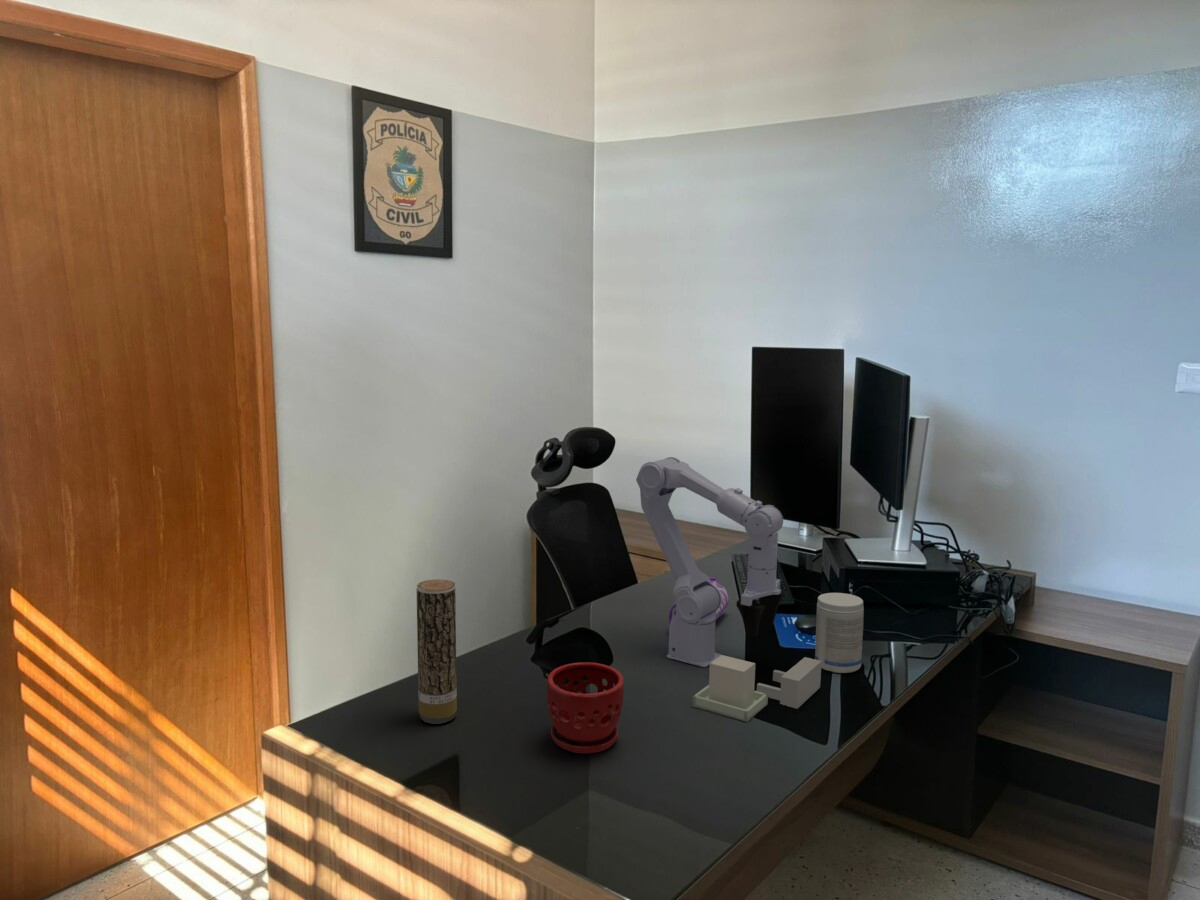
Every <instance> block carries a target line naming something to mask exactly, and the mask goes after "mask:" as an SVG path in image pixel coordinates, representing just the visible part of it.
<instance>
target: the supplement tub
mask: <svg viewBox="0 0 1200 900" xmlns="http://www.w3.org/2000/svg"><path fill="white" fill-rule="evenodd" d="M864 607H865V606H864V600H863V599H862V598H861V597H859V596H857V595H855V594H849V593H845V592H844V593H843V592H827V593H822V594H820V595H818V597H817V603H816V616H815V618H816V619H815V621H816V622H815V624H816V625H815V647H814V648H815V651H814V659H815V660H819V661H822V662H821V670H822V669H823V670H825V671H828V672H831V673H835V674H836V673H838V674H849V673H854V672H856V671H858V670H859V669H860V668H861V667H862V660H863V636H864V619H865V618H864V617H865V615H864V613H865V611H864V610H865V609H864Z"/></svg>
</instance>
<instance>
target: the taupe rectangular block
mask: <svg viewBox="0 0 1200 900" xmlns="http://www.w3.org/2000/svg"><path fill="white" fill-rule="evenodd" d="M708 672H709V677H708V678H709V679H708V685H709V699H710V700H713V701H717V702H720V703H724V704H728V705H731V706H735V707H738V708H742V709H745V710H746V709H747V708H749V707H750V706H751V705H752V704H753V703H754V691H755V682H756V681H755V680H756V663H755V662H751V661H747V660H743V659H740V658H735V657H732V656H727V655H724V654H723V655H721V656H719V657H718V658H717V659H715V660H714V661H712V662H711V663H710V665H709V670H708Z"/></svg>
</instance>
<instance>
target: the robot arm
mask: <svg viewBox="0 0 1200 900" xmlns="http://www.w3.org/2000/svg"><path fill="white" fill-rule="evenodd" d="M635 481H636V483H637V485H638V488H639V491H640V492H639V493H640V494H639V495H640V506H641V509H642V512H643V513H644V516H645V518H646V521H647V522H648V524H649V526H650V528H651V530H652V533H653V535H654V537H655V540H656V542H657V543H658V546H659V548H660V549H661V552H662V554H663V557H664V559H665V561H666V563H667V566H668V567H669V569H670V572H671V574H672V575H673V578H674V580H675V584H674V587H673V590H672V594H673V596H674V599H675V602H676V608H677V612H678V614H676V615H675V616H674V617H673V618H672V620H671V623H670V624H669V628H668V654H666V658H667V659H671V660H675V661H679V662H683V663H686V664H690V665H694V666H697V667H701V668H706V667H708V666H710V663H711V662H712V661H714V660H715V659H717V658H718V657H719V656H721V655H722V653H719V652H715V650H716V649H715V647H716V646H715V645H716V644H715V643H716V620H717V619H716V610H717V609H718V608H719V607H720V605H721V602H722V597H721V593H720V591H719V590H718V589H717V587H715V586H714V585H713V584H712V582H711V581H710V579H709V577H710V576H708V575H707V574H705V573H703V572H702V571H700V570H699V567H698V566H697V564H696V561H695V559H694V557H693V555H692V553H691V551H690V548H689V547H688V545H687V542H686V540H685V538H684V536H683V533H682V531H681V530H680V527H679V525H678V523H677V520H676V518H675V517H674V515H673V513H672V511H671V508H670V506H669V503H670V501H671V498H672V495H673V493H674V492H675V491H676V489H679V488H680V489H681V488H685V489H687V490H688V491H691V492H692V493H694V494H696V495H698V496H700V497H702V498H704V499H706V500H708V501H710V502H712V503H714V504H715V505H716V509H717V512H719V513H720V514H721V515H724V516H725V517H727V518H728V519H731V520H732V521H734V522H735V523H737V524H739V525H740V526H742V527H744V529H745V532H746V533H747V534H748V554H747V555H748V557H747V578H746V579H747V583H746V586H745V589H744V591H743V594H741V595H740V599H738V600H736V607H737V609H738V611H739V613H740V616H741V618H742V622H743V627H744V632H745V635H746V636H748V637H751V638H752V637H753V638H757V636H758V634H759V629H760V622H761V625H763V626H766V627H773V625H774V622H775V619H776V616H777V615H776V614H777V612H778V609H779V606H780V604H781V602H782V600H783V599H784V597H785V592H784V591H782V589H781V579H780V578H777V567H778V566H777V565H778V548H779V547H778V546H779V545H778V543H779V541H778V540H779V539H778V538H779V531H780V530H781V529H782V527H783V524H784V516H783V514H782V512H781V511H780V510H779V509H778V508H777V507H775V505H772V504H766V505H763V502H762V501H760V500H754V499H753V498H752V497H750V496H748V495H747V494H744V493H743V492H744V490H743V489H741V488H739V487H738V488H734V487H730V488H727V489H724V488H722V487H721V486H720V485H718V484H716V483H715V482H713V481H711V480H710V479H708V478H707V477H705V476H704V475H702V474H701V473H699V472H698V471H696V470H694V468H692V467H691V466H690V465H689V464H688V463H687V462H685V461H681V460H680V459H679V458H677V457H673V456H669V457H666V458H664V459H659V460H654V461H647V462H645V463H643V464H642V465H641V467H640V469H639V471H638V474H637V475H636V479H635ZM757 601H759V602H757ZM715 619H716V620H715Z"/></svg>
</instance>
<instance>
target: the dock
mask: <svg viewBox="0 0 1200 900" xmlns="http://www.w3.org/2000/svg"><path fill="white" fill-rule="evenodd" d="M821 662H822V661H819V660H815V658H814V659H813V658H812V657H806V656H804V657H803V658H802V659H801V660H799V661H798V662H797V663H796V664H795V665H793V666H792V667H791V668H790V669H789V670H787V671H782V670H777V669H774V670H773V672H772V681H773V682H777V683H780V687H777V686H773V685H769V684H765V683H761V682H758V683H757V684H756V691H758V692H761V693H765V694H768V699H773V700H777V701H779V705H781V704H782V705H781V706H785V705H786V707H790V708H793V709H797V710H798V709H799V708H800V707H801V706H802V705H803V704H804V703H805V702H806V701H808V699H810V697H812V696H813V695H814V694H815V693H816V692H817V691H819V689H820V688H821V677H822V675H821V674H822V668H821Z"/></svg>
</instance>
